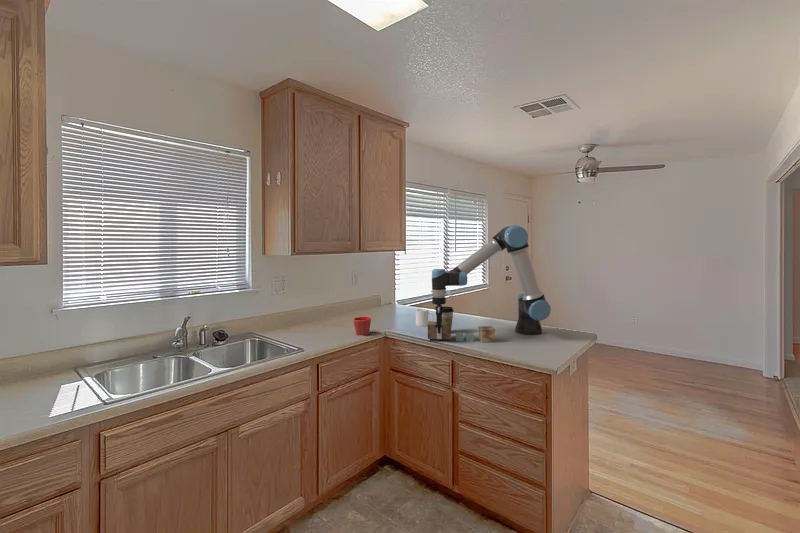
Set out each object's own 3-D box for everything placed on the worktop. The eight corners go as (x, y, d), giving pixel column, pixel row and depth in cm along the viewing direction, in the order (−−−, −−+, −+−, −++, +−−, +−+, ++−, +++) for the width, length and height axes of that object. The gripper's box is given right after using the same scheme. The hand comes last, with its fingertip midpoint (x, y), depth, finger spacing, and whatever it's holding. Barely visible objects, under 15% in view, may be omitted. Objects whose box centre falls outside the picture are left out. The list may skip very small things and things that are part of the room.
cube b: (463, 339, 215) (463, 332, 215) (463, 341, 211) (463, 334, 211) (456, 339, 215) (455, 332, 215) (456, 341, 212) (455, 334, 211)
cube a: (473, 339, 214) (473, 332, 214) (473, 341, 210) (473, 334, 210) (466, 339, 215) (466, 332, 214) (466, 341, 211) (466, 334, 210)
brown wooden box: (451, 335, 218) (450, 319, 217) (450, 339, 210) (450, 322, 209) (428, 335, 219) (428, 319, 219) (427, 338, 212) (427, 322, 211)
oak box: (491, 338, 215) (491, 326, 214) (495, 342, 207) (495, 329, 207) (478, 338, 215) (478, 326, 214) (481, 342, 207) (481, 329, 207)
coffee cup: (453, 334, 225) (453, 309, 224) (436, 334, 227) (436, 309, 226) (454, 330, 235) (454, 306, 234) (438, 330, 237) (438, 306, 236)
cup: (417, 323, 257) (417, 308, 256) (435, 324, 253) (434, 309, 252) (414, 326, 249) (414, 311, 248) (432, 327, 245) (432, 311, 244)
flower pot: (354, 337, 225) (354, 320, 225) (353, 332, 236) (352, 317, 235) (372, 335, 227) (372, 319, 227) (370, 331, 238) (369, 316, 237)
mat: (449, 337, 218) (449, 337, 218) (449, 342, 210) (449, 341, 210) (430, 337, 220) (430, 336, 220) (429, 341, 211) (429, 341, 211)
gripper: (433, 294, 224) (433, 332, 225) (430, 299, 204) (431, 341, 205) (446, 293, 223) (446, 332, 224) (445, 299, 202) (445, 341, 204)
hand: (439, 336), depth 215 cm, fingers closed on brown wooden box, 8 cm apart
